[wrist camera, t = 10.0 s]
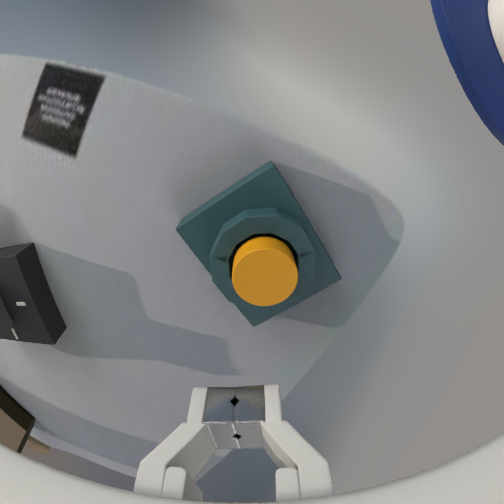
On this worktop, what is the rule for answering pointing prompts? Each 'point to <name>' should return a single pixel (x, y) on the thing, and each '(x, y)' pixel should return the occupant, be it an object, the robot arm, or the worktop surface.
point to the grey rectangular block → (4, 319)
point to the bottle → (13, 423)
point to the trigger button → (264, 271)
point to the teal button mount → (255, 225)
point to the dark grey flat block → (28, 297)
